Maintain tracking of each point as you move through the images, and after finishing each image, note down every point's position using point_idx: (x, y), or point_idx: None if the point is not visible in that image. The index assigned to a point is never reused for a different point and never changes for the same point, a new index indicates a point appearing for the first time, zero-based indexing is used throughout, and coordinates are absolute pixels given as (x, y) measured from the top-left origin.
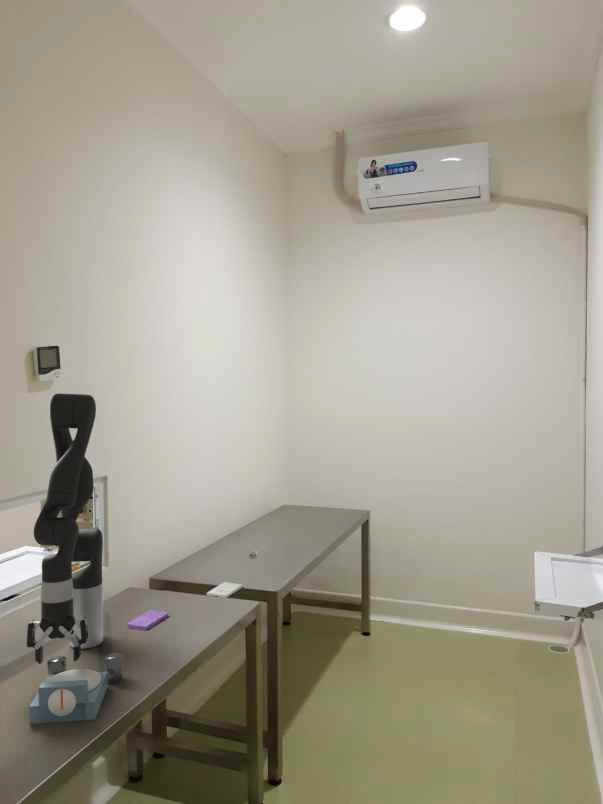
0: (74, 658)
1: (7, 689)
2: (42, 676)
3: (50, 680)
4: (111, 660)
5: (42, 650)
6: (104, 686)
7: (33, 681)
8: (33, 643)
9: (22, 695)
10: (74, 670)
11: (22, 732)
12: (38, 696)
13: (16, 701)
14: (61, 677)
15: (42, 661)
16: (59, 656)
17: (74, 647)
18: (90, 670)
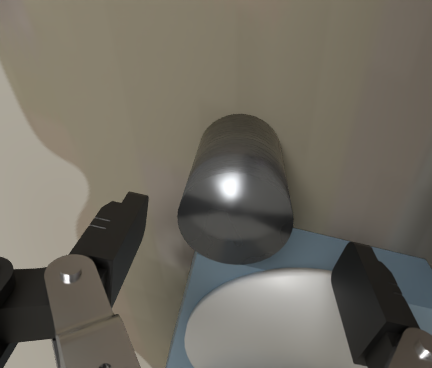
0: (338, 292)
1: (32, 129)
2: (163, 46)
3: (209, 322)
4: None
5: (123, 250)
6: None
7: (128, 91)
8: (25, 335)
9: (112, 200)
10: (319, 287)
11: (159, 360)
12: (177, 365)
13: None
14: (254, 317)
15: (147, 204)
16: (252, 183)
17: (360, 361)
18: None
